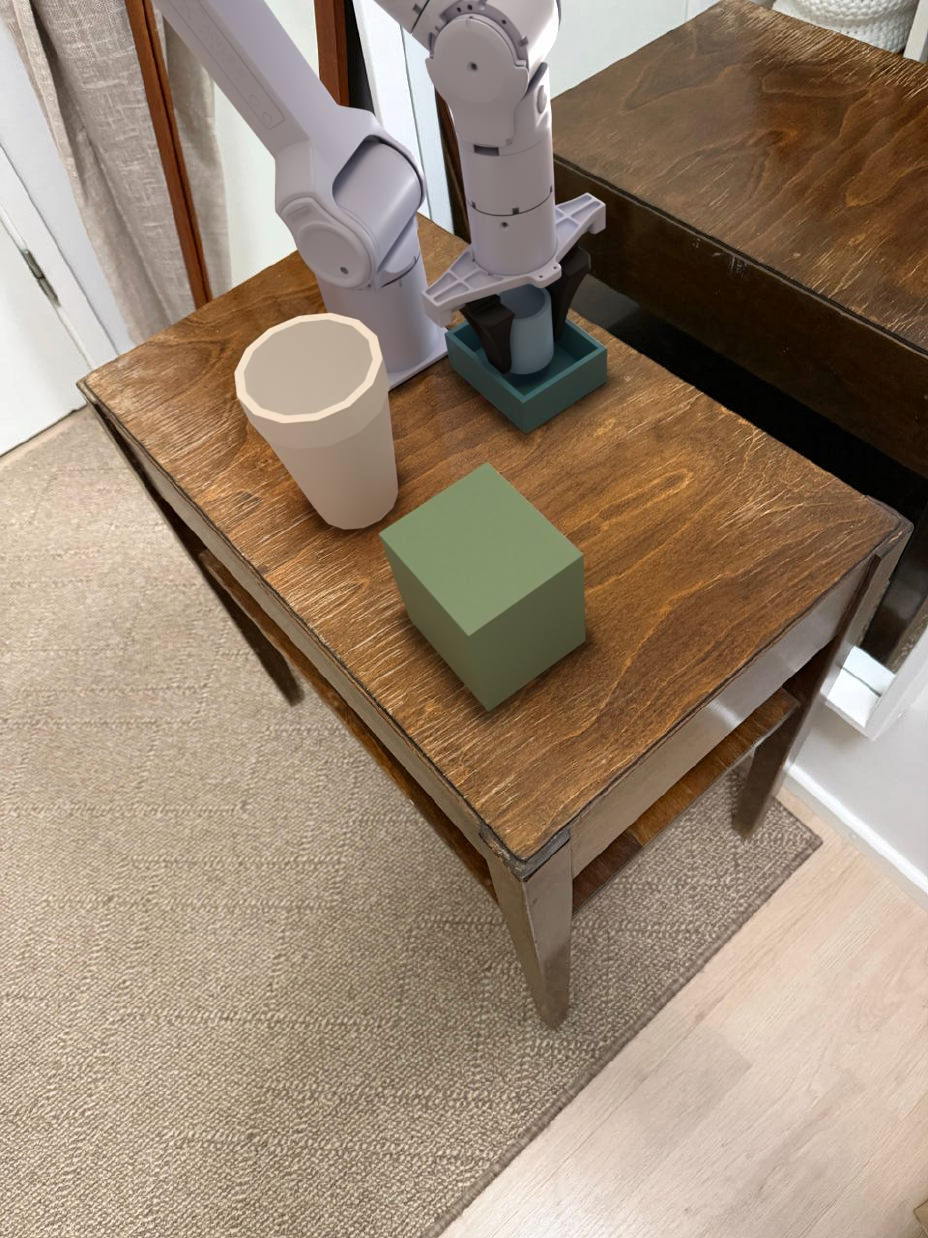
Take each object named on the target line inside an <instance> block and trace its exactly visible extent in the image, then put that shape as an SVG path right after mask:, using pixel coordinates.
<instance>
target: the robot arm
mask: <svg viewBox="0 0 928 1238" xmlns="http://www.w3.org/2000/svg"><path fill="white" fill-rule="evenodd" d="M150 1H151V2H152V3H153V4H154V6H155V7H156V8H157V10H158V11H159V12H160V14H161V15H162V16H163V18H164V19H165V20H166V21H167V23H168V24H169V26H171V28H172V29H173V30H174V32H175V33H176V34H177V35H178V37H179V38H180V39H181V41H182V42H183V43H184V45H185V46H186V47H187V48H188V50H189V51H190V52H191V54H192V55H193V56H194V58H196V60H197V62H198V63H199V64H200V65H201V67H202V68H203V69H204V71H205V72H206V73H207V74H208V76H209V77H210V78H211V79H212V81H213V83H215V84H216V86H217V87H218V88H219V90H220V91H221V92H222V93H223V94H224V96H225V97H226V99H227V101H229V103H230V104H231V106H232V107H234V109H235V110H236V111H237V113H238V114H239V115H240V116H241V118H242V119H243V121H244V122H245V123H246V125H248V127H249V128H250V129H251V131H252V132H253V133H254V134H255V136H256V137H257V138H258V140H259V141H260V142H261V143H262V145H263V146H264V147H265V148H266V150H267V151H268V153H269V154H270V156H271V157H273V160H274V168H275V171H274V211H275V213H276V215H277V216H278V217H279V218H280V219H281V221H282V223H283V224H284V225H285V226H286V227H287V229H288V231H289V232H290V234H291V236H292V239H293V241H294V244H295V247H296V250H297V252H298V254H299V256H300V257H301V259H302V260H303V262H304V263H305V264H306V266H307V267H308V268H309V270H310V271H311V272H313V273H314V276H315V279H316V282H317V285H318V288H319V291H320V295H321V298H322V301H323V304H324V306H325V310H326V313H333V314H337V315H341V316H345V317H349V318H353V319H357V320H359V321H360V322H361V323H363V324H364V325H365V326H366V327H367V328H368V329H369V330H371V331H372V332H373V333H374V334H375V335H376V336H377V338H378V342H379V345H380V349H381V352H382V356H383V360H384V363H385V367H386V371H387V375H388V380H389V384H390V388H389V391H392V390H393V389H394V388H396V387H398V386H399V385H401V384H402V383H404V382H406V381H407V380H409V379H410V378H413V376H415V375H417V374H418V373H420V372H421V371H423V370H425V369H426V368H429V366H432V365H433V364H434V363H436V362H437V361H440V360H441V359H442V358H444V357H445V356H446V357H447V356H448V351H447V346H446V341H445V336H444V334H445V333H446V332H448V331H449V329H447V328H446V326H448V325H449V324H452V323H453V320H454V319H453V314H454V313H456V312H459V313H460V314H461V315H462V317H463V318H464V319H465V321H466V320H467V322H468V323H469V324H470V326H471V327H472V329H473V331H474V332H475V334H476V336H477V337H478V339H479V341H480V343H481V345H482V347H483V349H484V352H485V354H486V357H487V360H488V362H489V363H490V364H491V365H492V366H493V367H495V368H496V369H497V370H498V371H499V372H500V373H501V374H506V373H507V372H509V371H510V370H511V364H512V360H511V350H510V333H511V327H512V323H513V319H514V317H515V313H514V312H513V311H511V310H510V309H509V308H508V307H507V306H505V305H504V304H503V303H502V302H501V298H500V296H499V295H497V293H500V292H503V291H506V290H510V289H513V288H516V287H520V286H523V285H526V284H532V285H534V286H535V287H537V288H545V289H546V290H547V291H548V292H549V294H550V297H551V311H552V329H553V342H556V341H558V340H559V339H561V335H562V332H563V328H564V324H565V321H566V317H567V318H568V314H569V311H570V307H571V304H572V302H573V300H574V297H575V295H576V293H577V292H578V289H579V287H580V285H581V284H582V282H583V280H584V279H585V278H586V277H587V275H588V273H589V272H590V271H591V255H590V254H589V253H588V252H587V251H586V250H584V249H583V248H581V247H580V246H579V239H580V238H581V237H582V235H584V234H585V233H587V232H589V233H590V234H593V235H596V234H598V233H600V232H602V231H603V230H604V229H606V203H604V202H603V201H602V200H600V199H598V198H597V197H595V196H594V195H592V194H590V193H589V192H585V193H584V194H582V195H580V196H577V197H576V198H574V199H571V200H568V201H565V202H562V203H559V204H556V196H555V195H556V194H555V173H554V153H553V152H554V151H553V134H552V133H553V130H552V129H553V128H552V108H551V96H550V95H551V94H550V77H549V76H550V75H549V64H548V63H547V62H546V61H544V60H545V58H546V56H547V55H548V53H549V52H550V50H551V48H552V47H553V45H554V42H555V41H556V37H557V35H558V34H559V30H560V26H561V23H562V2H561V0H373V1H374V3H376V4H377V5H378V6H379V7H380V8H381V9H382V11H384V12H385V13H386V14H388V15H389V16H390V17H391V18H392V19H393V20H394V21H395V22H396V23H397V24H398V25H399V26H401V28H403V29H404V30H405V31H406V32H407V33H408V34H409V35H411V37H412V38H413V39H415V40H416V41H417V42H418V44H420V45H421V46H422V47H423V48H424V49H426V50H427V51H428V52H429V53H430V54H429V57H426V58H425V59H424V63H425V68H426V71H427V74H428V77H429V79H430V81H431V84H432V85H433V87H434V88H435V90H436V92H437V93H438V94H439V96H440V97H441V98H442V100H444V102H445V103H446V104H447V105H448V107H449V109H450V111H451V112H450V113H451V114H452V119H453V126H454V132H455V133H456V139H457V140H456V141H457V146H458V153H459V160H460V168H461V174H462V183H463V188H464V198H465V204H466V211H467V219H468V226H469V227H468V228H469V232H470V233H469V234H470V241H471V243H469V245H468V246H467V247H466V248H465V249H464V250H463V251H462V252H461V254H460V255H458V257H457V258H456V259H455V260H454V261H453V262H452V263H451V264H450V266H449V267H448V268H447V269H446V270H445V271H444V272H443V273H442V274H441V275H440V276H439V278H438V279H437V280H435V281H434V282H433V283H431V285H429V284H428V279H427V275H426V269H425V265H424V259H423V255H422V249H421V245H420V239H419V236H418V235H419V234H418V230H419V223H418V218H417V214H416V213H417V212H418V210H420V208H421V207H422V205H423V204H424V202H425V200H426V196H427V191H428V190H427V181H426V176H425V175H426V174H425V173H424V170H423V168H422V166H421V164H420V163H419V161H418V159H417V157H416V156H415V155H414V154H413V153H412V152H411V150H409V149H408V148H407V147H406V146H405V145H404V144H402V143H401V142H399V141H398V140H397V139H395V138H394V137H393V136H391V135H390V133H388V131H386V130H385V128H384V127H383V126H382V125H381V123H380V122H379V120H378V119H377V117H376V116H375V114H374V113H373V112H372V111H370V110H368V109H367V110H366V109H362V108H356V107H349V106H344V105H339V104H337V102H336V101H335V100H334V98H333V97H332V95H331V94H330V92H329V91H328V89H327V88H326V87H325V85H324V84H323V83H322V81H321V79H320V78H319V76H318V74H316V72H315V71H314V70H313V68H312V67H311V65H310V63H309V62H308V61H307V60H306V58H305V56H304V55H303V54H302V52H301V51H300V49H299V48H298V46H297V45H296V44H295V42H294V41H293V39H292V38H291V36H290V35H289V34H288V32H287V31H286V29H285V28H284V27H283V25H282V24H281V22H280V20H279V19H278V18H277V17H276V15H275V14H274V12H273V11H272V9H271V8H270V6H269V4H268V3H267V2H266V1H265V0H150Z"/></svg>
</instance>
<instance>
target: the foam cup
mask: <svg viewBox="0 0 928 1238" xmlns="http://www.w3.org/2000/svg"><path fill="white" fill-rule="evenodd" d="M234 382H235V391H236V397H237V399H238V401H239V403H240V405H241V407H242V409H243V411H244V414H245V416H246V417H247V420H248V421H249V423H250V424H251V425H252V426H253V428H254V429H255V430H256V431H257V432H258V434H260V435H261V436H262V437H263V439H264V440H265V441H266V442H267V443H268V445H269V447H271V449H272V451H273V452H274V453H275V455H276V456H277V457H278V459H279V460H280V462H281V463H282V465H283V466H284V468H285V469H286V470H287V472H288V473H289V475H290V476H291V478H293V480H294V482H296V485H297V486H298V487H299V489H300V490H301V491H302V493H303V494H304V496H305V497H306V499H307V500H308V501H309V503H310V504H311V506H312V507H313V508H314V510H315V511H316V512H317V514H318V515H319V516H320V517H321V518H322V519H323V520H324V521H325V523H326V524H327V525H331V526H332V527H333V526H334V527H335V528H339V529H342V530H355V529H356V530H357V529H358V530H359V529H364V528H367V527H369V526H371V525H374V524H375V523H377V522H380V521H381V520H383V518H384V517H385V516H386V515H387V514H388V513H389V512H390V511H392V509H393V508H394V506H395V503H396V501H397V497H398V495H399V489H398V487H399V483H398V474H397V465H396V457H395V456H396V454H395V445H394V438H393V429H392V417H391V409H390V401H389V392H390V390H389V388H390V384H389V380H388V375H387V371H386V367H385V363H384V360H383V356H382V352H381V349H380V345H379V342H378V338H377V336H376V335H375V334H374V333H373V332H372V331H371V330H369V329H368V328H367V327H366V326H365V325H364V324H363V323H361V322H360V321H359V320H357V319H353V318H349V317H345V316H341V315H337V314H333V313H327V312H326V313H324V312H323V313H316V314H315V313H314V314H307V315H306V314H304V315H298V316H296V317H293V318H291V319H288V320H286V321H283V322H282V323H279V324H276V325H274V326H272V327H269V328H268V329H267V330H266V331H265V332H263V333H262V334H261V335H260V336H258V338H256V339H255V340H254V341H253V342H252V343H250V344H249V346H247V347H246V348H245V350H244V352H243V354H242V357H241V358H240V360H239V362H238V364H237V366H236V368H235V370H234Z"/></svg>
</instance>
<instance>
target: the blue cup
mask: <svg viewBox="0 0 928 1238" xmlns="http://www.w3.org/2000/svg"><path fill="white" fill-rule="evenodd" d="M497 295H499V296H500V298H501V302H502V303H503V304H504V305H505V306H507V307H508V308H509V309H510V310H511V311H513V312H514V313H515V317H514V319H513V323H512V327H511V333H510V350H511V360H512V364H511V370H510V371H509V372H512V373H515V374H530V373H534V372H537V371H539V370H541V369H543V368H544V367H545V366H547V365H548V364H549V362H550V361H551V359H552V357H553V354H554V348H553V329H552V311H551V297H550V294H549V292H548V291H547V290H546V289H545V288H537V287H535V286H534V285H532V284H526V285H523V286H520V287H516V288H513V289H510V290H506V291H503V292H500V293H497Z"/></svg>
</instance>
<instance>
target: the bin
mask: <svg viewBox="0 0 928 1238" xmlns="http://www.w3.org/2000/svg"><path fill="white" fill-rule="evenodd" d="M444 336H445V341H446V346H447V351H448V354H447V356H448V360H449V367H451V368H452V369H453V371H455V372H456V373H457V374H458V375H459V376H460V377H461V378H463V379H464V380H465V381H466V382H467V383H468V384H469V385H471V387H472V388H474V389H475V390H476V391H477V392H478V393H479V394H480V395H482V396H483V397H484V398H485V399H486V400H487V401H488V402H489V403H490V404H491V405H493V406H494V407H495V408H496V409H497V410H498V411H499V412H500V413H502V414H503V415H504V416H505V418H507V419H508V420H509V422H512V423H513V424H514V426H516V428H518V429H519V430H520V431H521V432H522V433H524V434H525V435H528V434H529V433H532V432H533V431H534V430H536V429H538V427H540V426H541V425H544V424H545V423H546V422H549V420H551V419H552V418H554V417H556V416H558V414H560V413H561V412H563V411H565V410H566V409H568V408H569V407H571V406H573V404H575V403H577V402H578V401H579V400H581V399H583V398H585V397H586V396H587V395H589V394H590V393H592V392H593V391H595V390H596V389H598V388H599V387H601V386H602V385H604V384H606V383H607V382H608V378H607V377H608V347H606V346H605V345H603V344H602V343H601V342H600V341H599V340H598V339H596V338H594V336H592V335H591V334H590V333H588V332H587V331H586V330H584V329H583V328H582V327H580V326H579V325H578V324H576V323H575V321H573V320H571V318H569V317H568V316H567V317H566V321H565V324H564V328H563V332H562V335H561V339H559V340H558V341H556V342H553V348H554V354H553V357H552V359H551V361H550V362H549V364H548V365H547V366H545V367H544V368H543V369H541V370H539V371H537V372H534V373H530V374H515V373H512V372H507V373H506V374H501V373H500V372H499V371H498V370H497V369H496V368H495V367H493V366H492V365H491V364H490V363H489V362H488V360H487V357H486V354H485V352H484V349H483V347H482V345H481V343H480V341H479V339H478V337H477V336H476V334H475V332H474V331H473V329H472V327H471V326H470V324H469V323H468V322H467V320H466V319H465V320H464V321H463V322H461V323H459V324H457V325H455V326H454V327H452V328H451V329H448V332H446V333H445V334H444Z"/></svg>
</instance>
